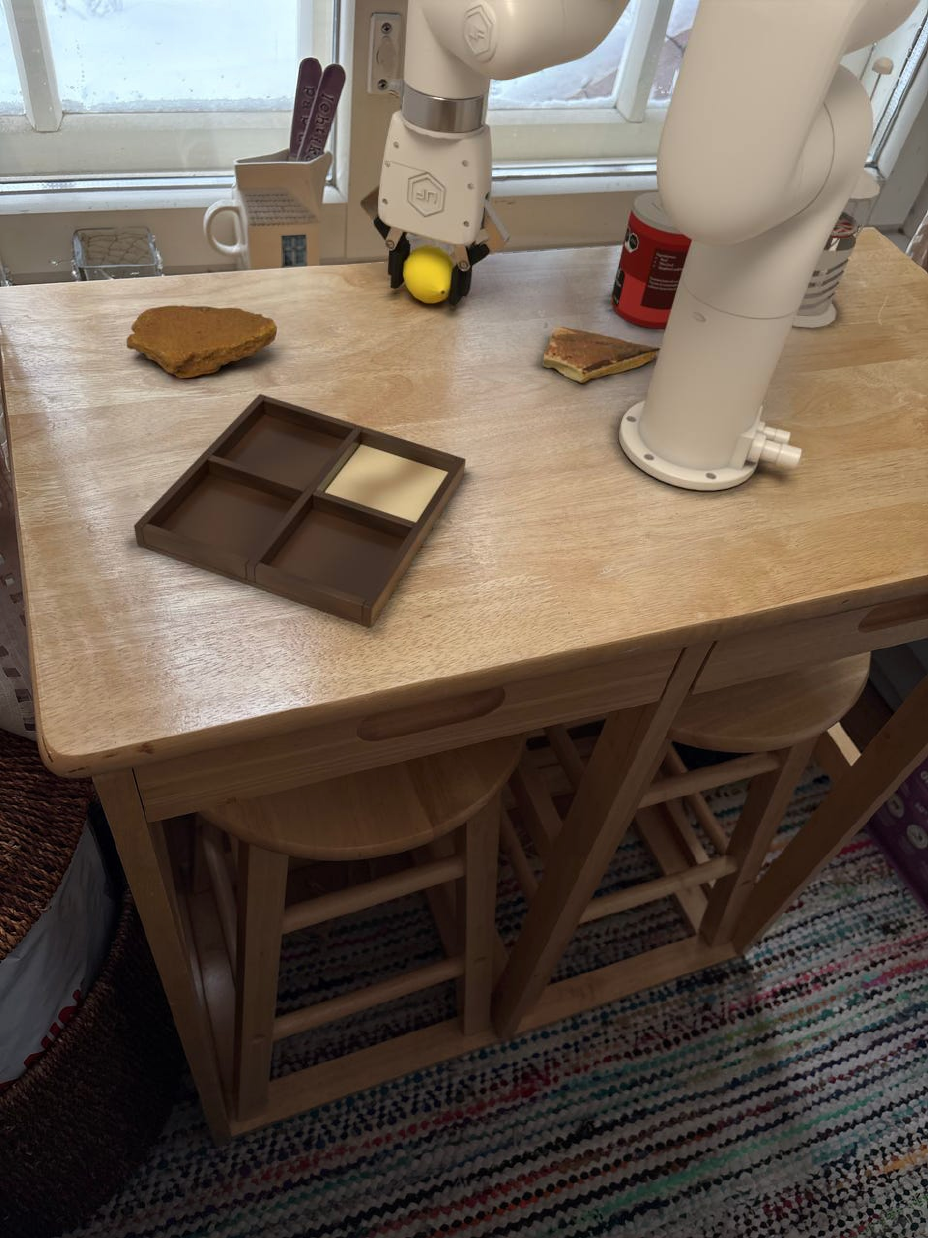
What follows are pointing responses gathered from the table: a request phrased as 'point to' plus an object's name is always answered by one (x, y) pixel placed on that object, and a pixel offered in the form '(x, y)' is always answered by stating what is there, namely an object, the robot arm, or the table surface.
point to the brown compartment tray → (305, 508)
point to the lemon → (428, 273)
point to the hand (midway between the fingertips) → (428, 289)
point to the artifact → (199, 337)
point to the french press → (818, 299)
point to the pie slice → (593, 354)
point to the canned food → (649, 264)
